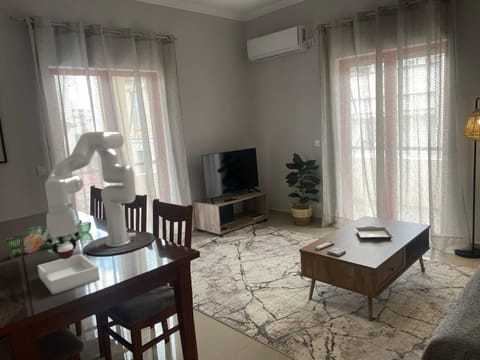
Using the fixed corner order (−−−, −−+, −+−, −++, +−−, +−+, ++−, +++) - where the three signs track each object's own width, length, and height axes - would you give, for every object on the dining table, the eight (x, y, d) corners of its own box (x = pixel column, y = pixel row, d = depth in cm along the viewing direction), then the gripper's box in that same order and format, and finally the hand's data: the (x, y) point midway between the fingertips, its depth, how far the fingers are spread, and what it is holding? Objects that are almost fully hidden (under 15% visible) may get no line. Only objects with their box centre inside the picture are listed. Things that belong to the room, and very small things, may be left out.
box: (82, 264, 166) (81, 253, 165) (99, 279, 149) (98, 266, 148) (39, 277, 154) (37, 265, 153) (52, 294, 138) (50, 281, 137)
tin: (25, 255, 182) (22, 239, 181) (20, 255, 183) (17, 239, 181) (46, 245, 197) (44, 230, 195) (41, 245, 197) (39, 230, 196)
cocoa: (74, 260, 147) (71, 232, 145) (57, 262, 145) (54, 234, 142) (73, 252, 156) (71, 225, 154) (57, 254, 153) (54, 227, 151)
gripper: (78, 203, 155) (83, 243, 158) (33, 211, 144) (39, 254, 147) (83, 206, 149) (89, 247, 152) (37, 214, 138) (44, 258, 141)
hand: (64, 250), depth 149 cm, fingers closed on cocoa, 6 cm apart
